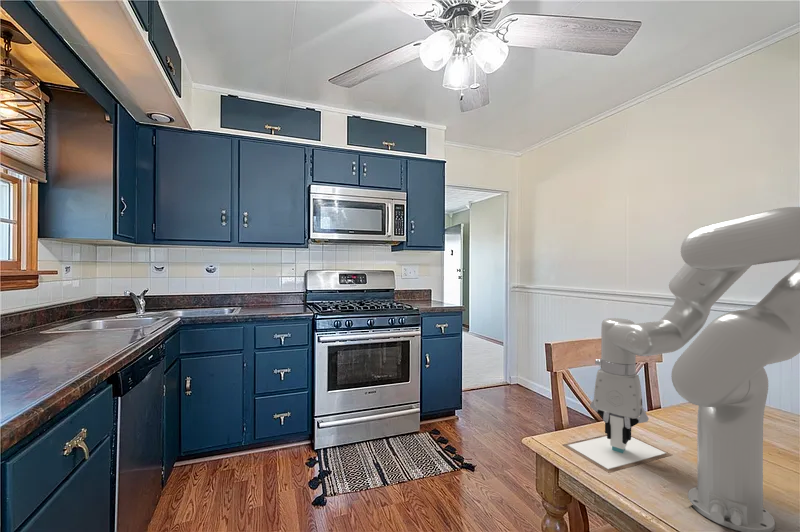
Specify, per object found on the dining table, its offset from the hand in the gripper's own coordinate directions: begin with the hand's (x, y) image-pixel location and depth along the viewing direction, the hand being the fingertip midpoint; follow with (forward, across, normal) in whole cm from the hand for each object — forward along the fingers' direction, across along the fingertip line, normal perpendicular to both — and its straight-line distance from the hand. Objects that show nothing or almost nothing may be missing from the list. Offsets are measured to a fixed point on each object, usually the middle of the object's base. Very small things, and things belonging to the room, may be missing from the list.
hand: (617, 438), depth 93 cm
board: (+4, -1, +1) cm, 4 cm away
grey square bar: (+3, 0, +1) cm, 3 cm away
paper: (+3, -1, +1) cm, 3 cm away
